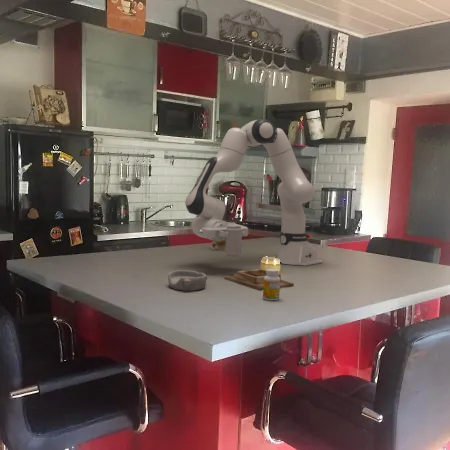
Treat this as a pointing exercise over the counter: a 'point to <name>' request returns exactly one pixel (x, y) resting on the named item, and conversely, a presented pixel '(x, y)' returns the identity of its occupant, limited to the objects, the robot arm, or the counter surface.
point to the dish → (187, 280)
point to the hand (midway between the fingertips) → (236, 234)
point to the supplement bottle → (271, 285)
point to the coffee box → (219, 243)
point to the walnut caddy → (254, 279)
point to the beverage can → (233, 241)
